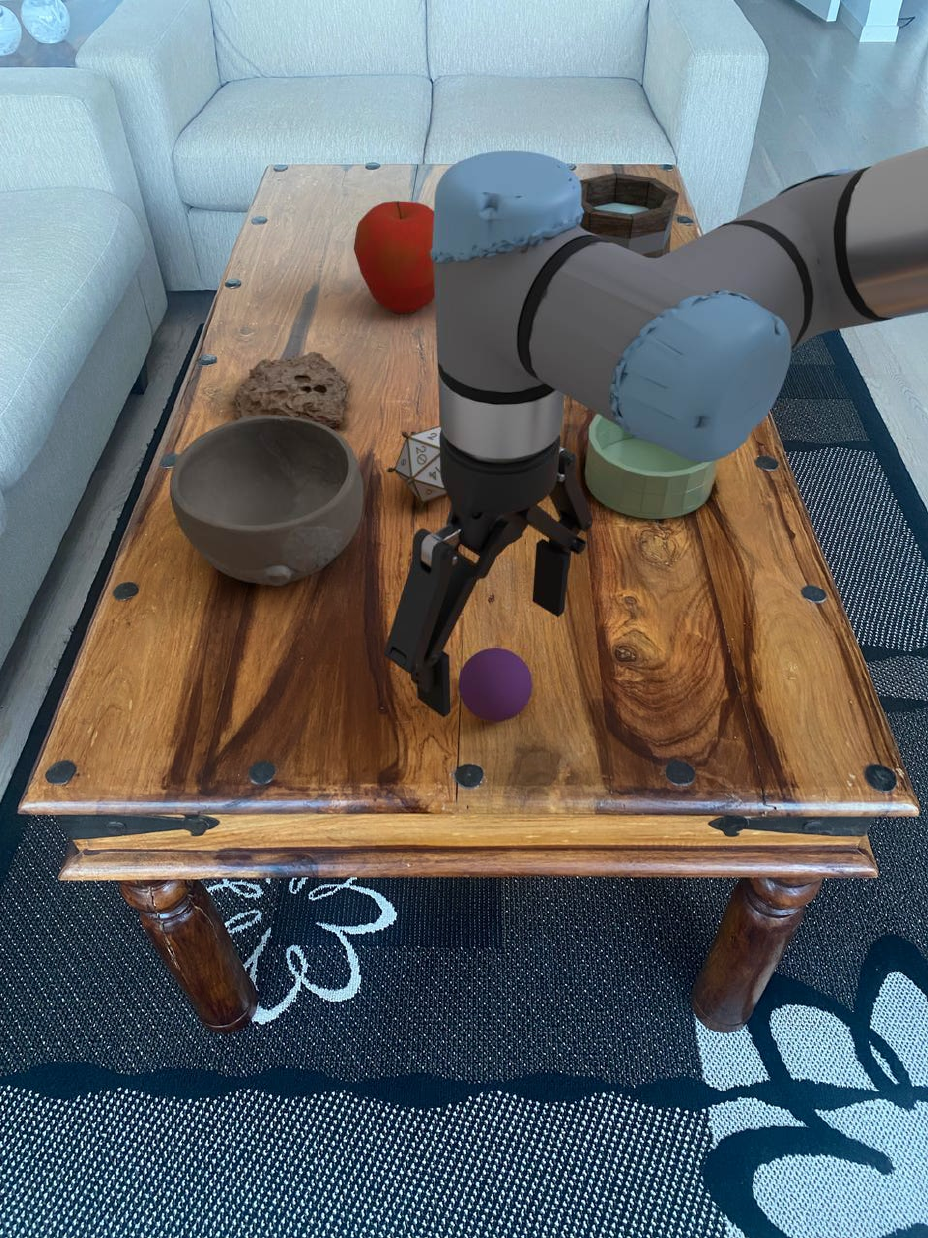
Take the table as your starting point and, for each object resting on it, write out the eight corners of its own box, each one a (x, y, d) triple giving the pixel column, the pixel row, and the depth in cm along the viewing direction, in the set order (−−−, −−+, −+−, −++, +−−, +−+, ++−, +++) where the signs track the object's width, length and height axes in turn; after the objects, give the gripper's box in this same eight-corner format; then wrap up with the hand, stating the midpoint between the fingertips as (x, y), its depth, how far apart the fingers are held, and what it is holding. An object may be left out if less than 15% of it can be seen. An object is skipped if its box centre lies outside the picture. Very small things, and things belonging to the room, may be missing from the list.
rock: (344, 433, 104) (340, 405, 101) (227, 433, 104) (220, 405, 101) (357, 362, 114) (353, 334, 111) (250, 363, 114) (244, 335, 111)
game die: (451, 528, 98) (479, 502, 88) (374, 506, 96) (394, 477, 86) (467, 451, 100) (496, 417, 90) (392, 428, 98) (414, 391, 88)
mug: (652, 284, 127) (668, 171, 116) (671, 335, 117) (691, 217, 106) (509, 288, 126) (512, 175, 115) (517, 340, 117) (521, 222, 106)
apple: (378, 338, 118) (368, 229, 107) (347, 297, 125) (335, 191, 115) (466, 317, 121) (464, 209, 111) (431, 278, 129) (426, 174, 118)
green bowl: (736, 474, 98) (747, 431, 94) (665, 537, 91) (674, 494, 87) (632, 425, 104) (638, 383, 100) (558, 481, 97) (562, 438, 93)
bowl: (325, 627, 83) (311, 545, 76) (154, 585, 87) (125, 503, 80) (395, 510, 94) (388, 428, 87) (240, 477, 98) (221, 397, 91)
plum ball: (545, 705, 77) (549, 658, 73) (498, 749, 74) (499, 703, 70) (491, 668, 80) (492, 621, 75) (444, 709, 77) (442, 663, 72)
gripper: (575, 329, 65) (555, 550, 80) (305, 500, 52) (344, 723, 68) (665, 368, 61) (625, 592, 77) (399, 562, 49) (417, 782, 64)
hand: (493, 654), depth 72 cm, fingers open, 13 cm apart
